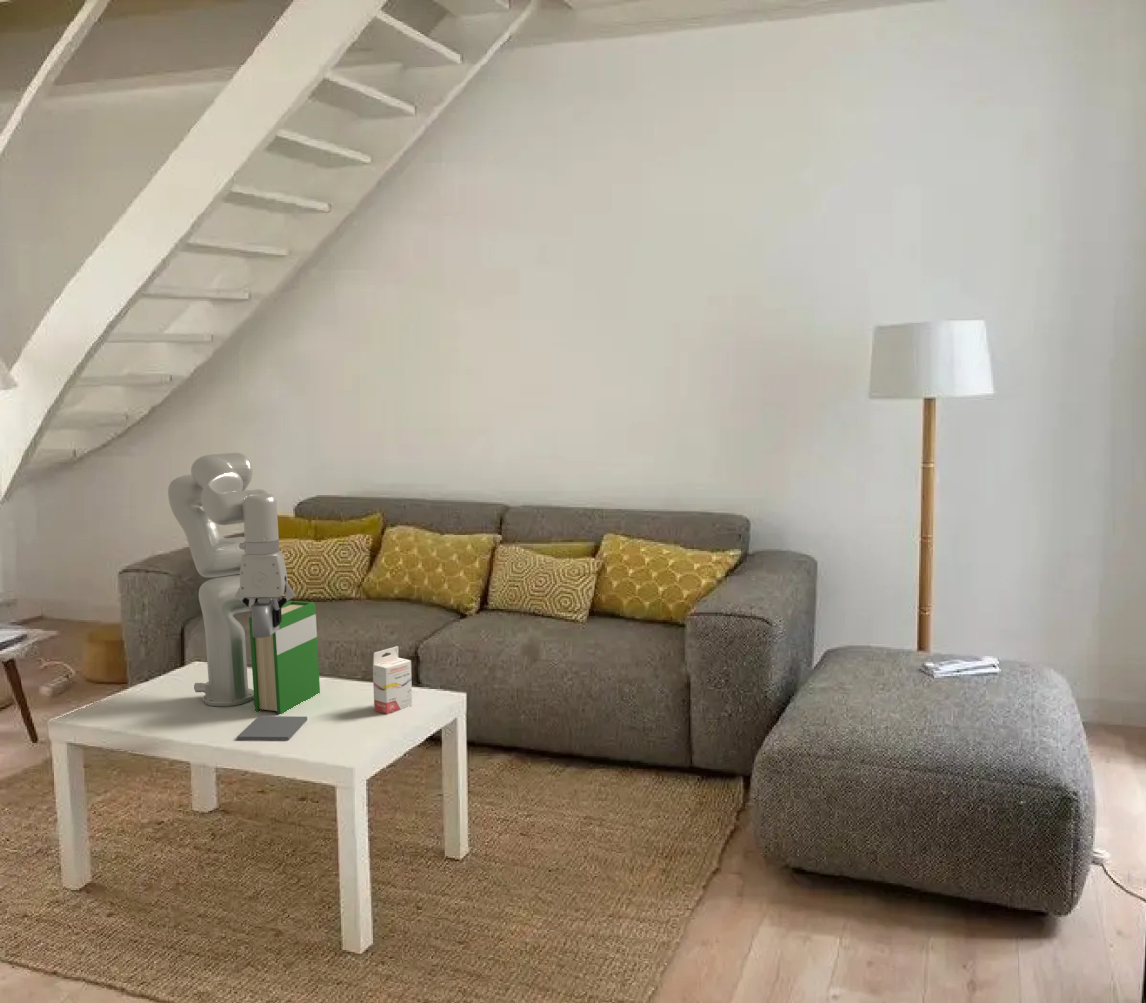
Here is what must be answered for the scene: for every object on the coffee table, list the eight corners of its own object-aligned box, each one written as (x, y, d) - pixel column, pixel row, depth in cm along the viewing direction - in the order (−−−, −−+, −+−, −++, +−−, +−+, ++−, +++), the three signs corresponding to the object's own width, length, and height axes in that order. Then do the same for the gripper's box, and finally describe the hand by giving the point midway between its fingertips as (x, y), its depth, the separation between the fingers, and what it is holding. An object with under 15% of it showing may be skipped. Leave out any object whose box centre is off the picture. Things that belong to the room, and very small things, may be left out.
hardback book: (280, 714, 279) (274, 619, 275) (254, 712, 281) (248, 617, 278) (320, 693, 295) (315, 602, 292) (295, 690, 298) (290, 600, 294)
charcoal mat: (237, 739, 262) (237, 736, 262) (258, 719, 276) (258, 716, 276) (288, 740, 261) (288, 737, 261) (307, 719, 275) (307, 716, 275)
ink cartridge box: (387, 715, 277) (384, 656, 275) (373, 711, 281) (371, 652, 278) (413, 705, 284) (411, 648, 282) (400, 701, 287) (397, 645, 285)
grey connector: (250, 637, 260) (247, 598, 258) (265, 627, 269) (263, 589, 268) (267, 637, 259) (265, 598, 258) (281, 627, 269) (279, 589, 268)
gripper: (220, 551, 259) (225, 629, 262) (292, 551, 258) (297, 630, 260) (232, 545, 266) (237, 621, 269) (303, 544, 265) (307, 621, 268)
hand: (266, 624), depth 265 cm, fingers closed on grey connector, 4 cm apart
